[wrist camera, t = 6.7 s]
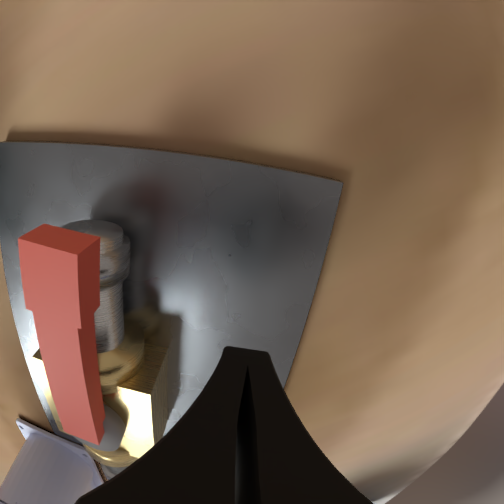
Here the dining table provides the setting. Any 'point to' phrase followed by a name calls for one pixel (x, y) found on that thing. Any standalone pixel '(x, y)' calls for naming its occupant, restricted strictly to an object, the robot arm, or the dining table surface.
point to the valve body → (169, 268)
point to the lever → (69, 328)
